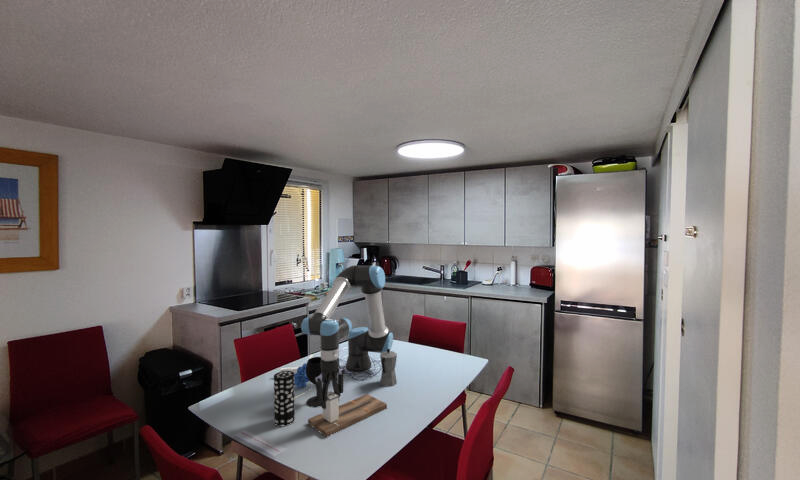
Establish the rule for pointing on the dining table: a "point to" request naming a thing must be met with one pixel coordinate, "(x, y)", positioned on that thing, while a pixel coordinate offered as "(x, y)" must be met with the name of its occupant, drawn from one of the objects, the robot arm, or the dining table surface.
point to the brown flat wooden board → (348, 414)
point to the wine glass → (313, 378)
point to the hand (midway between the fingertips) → (330, 413)
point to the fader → (332, 407)
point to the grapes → (301, 376)
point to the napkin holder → (290, 369)
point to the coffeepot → (388, 368)
